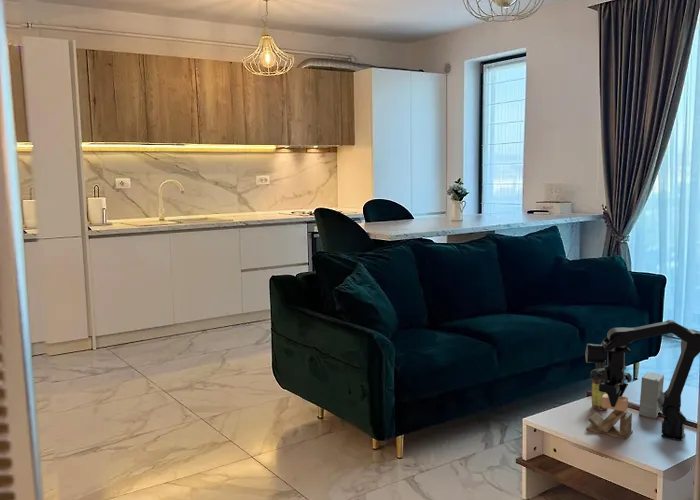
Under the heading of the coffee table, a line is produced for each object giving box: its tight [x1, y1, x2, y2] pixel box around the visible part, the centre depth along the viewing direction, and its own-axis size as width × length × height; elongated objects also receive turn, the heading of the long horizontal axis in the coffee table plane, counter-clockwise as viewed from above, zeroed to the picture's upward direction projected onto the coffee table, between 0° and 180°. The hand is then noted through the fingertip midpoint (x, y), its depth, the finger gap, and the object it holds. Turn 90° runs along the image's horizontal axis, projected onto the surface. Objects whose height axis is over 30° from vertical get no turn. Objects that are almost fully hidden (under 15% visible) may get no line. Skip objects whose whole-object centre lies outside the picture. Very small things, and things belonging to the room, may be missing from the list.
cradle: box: [585, 409, 634, 440], centre depth 234 cm, size 14×8×9 cm, turn 50°
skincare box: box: [638, 371, 665, 419], centre depth 248 cm, size 8×7×16 cm
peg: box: [602, 394, 629, 412], centre depth 232 cm, size 8×4×4 cm, turn 55°
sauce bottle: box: [591, 360, 609, 411], centre depth 255 cm, size 6×6×20 cm
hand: (614, 404), depth 232 cm, fingers closed on peg, 4 cm apart
